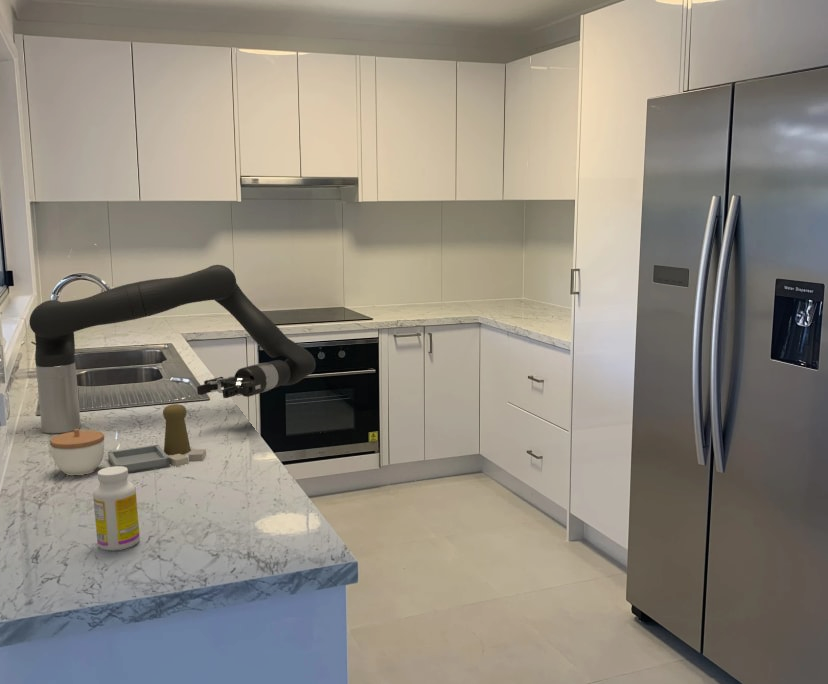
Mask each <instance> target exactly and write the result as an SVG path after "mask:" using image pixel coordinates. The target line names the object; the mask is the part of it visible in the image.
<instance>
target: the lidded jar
mask: <svg viewBox="0 0 828 684" xmlns="http://www.w3.org/2000/svg"><path fill="white" fill-rule="evenodd" d="M49 444H50V451H51V455H52V459H53V462H54V464H55V465H56V467H57V468H58V469H59V470H60V471H62V472H63V473H64V475H65V474H68V475H82V476H85V475H84V474H87V475H89V473H90V474H92V473H94V472H95V471H96V470H97V468H98V466H99V465H100V464H101V463H102V461H103V458H104V453H105V434H104V433H103V432H102V431H98V430H89V429H88V430H80V428H79V429H74V431H70V432H64V433H59V434H57V435H55V436H53V437H51V439H50V440H49ZM68 475H67V476H68Z"/></svg>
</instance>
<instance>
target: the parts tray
mask: <svg viewBox="0 0 828 684" xmlns="http://www.w3.org/2000/svg"><path fill="white" fill-rule="evenodd" d="M168 456H169V455H167V454H166V453H165V452H164V449H163V448H162V447H161V446H160V445H159V444H154V445H153V444H152V445H145V446H140V447H139V446H138V447H133V448H125V449H120V450H113V451H112V450H111V451H108V452H107V458H108V462H109V464H110V467H115V466H122V467H126V468H127V469H128V475H130V474H134V473H140V472H146V471H151V470H152V471H154V470H160V469H165V468H169V467H170V468H171V465H170V458H169V457H168Z"/></svg>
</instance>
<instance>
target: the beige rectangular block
mask: <svg viewBox="0 0 828 684" xmlns="http://www.w3.org/2000/svg"><path fill="white" fill-rule="evenodd" d="M205 456H206V457H207V449H204V448H201V449H199V448H196V449H192V450H191V451H190V452H188V462H203V461H204V459H205V458H206V457H205Z"/></svg>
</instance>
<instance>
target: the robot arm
mask: <svg viewBox="0 0 828 684" xmlns="http://www.w3.org/2000/svg"><path fill="white" fill-rule="evenodd" d="M209 301H214V302H216V303H218V304H219V305H220V306H221V307H223V308H224V309H225V310H226V311H227V312H228V313H229V314H230V315H231V316H233V318H234V319H236V321H237V322H238V323H239V324H240V326H241V327H242V328H243V329H244V330H245V331H246V332H247V333H248V335H249V337H251V338H252V339H253V341H254V342H255V343H256V344H257V345H258V346H259V347H260V348H261V349H262V350H263V351H264V352H265V353H266V354H267V355H268V356H269V357H270V358H272V359H273V358H274V359H275V358H278V357H284V358H286V359H285V360H282V359H275V360H271V361H268V362H261V363H260V362H259V363H256V364H252V365H248V366H245V367H241V368H238V370H236V372H235V373H234V376H233V375H232V376H228V377H223V376H219V377H215V378H210V379H207V380H203V383H204V384H201V385H200V384H199V385H197V387H196V390H197V391H196V392H197V395H198V396H199V395H200V396H203V395H206V394H209V393H216V392H217V393H218V394H222V398H223V399H229V398H232V397H235V396H237V397H240V396H243V397H247V398H249V397H252V396H256V395H259V394H262V393H265V392H268V391H271V390H272V389H275V388H279V387H280V386H291V385H295V384H297V383H299V382H301V381H302V380H303V379H305V378H307V377H308V376H309V375H311V374H312V373H313V372H314V371H315V369H316V366H317V364H316V360H315V357H314V356H313V354H312V353H311V352H310V351H308V350H307V349H306V348H304V347H303V346H301V345H300V344H298V343H296V342H295V341H293V340H291V339H290V338H288V337H287V336H286V334H284V332H283V331H282V330H281V329H280V328H279V327H278V326H277V325H276V324H275V323H274V322H273V321H272V320H271V319H270V318H269V317H268V316H267V315H266V314H264V312H263V311H262V310H260V309H259V308H258V307H257V306H256V305H255V304H254V303H253V302H252V300H250V299H249V298H248V296H247V295H246V294H245V293H244V292H243V291H242V289H241V287H240V286H239V285H238V283H237V278H236V276H235V274H234V272H233V271H232V269H230V268H229V267H227V266H225V265H223V264H213V265H210V266H208V267H206V268H203V269H200V270H197V271H193V272H191V273H188V274H184V275H180V276H175V277H166V278H165V277H164V278H162V277H161V278H155V279H147V280H142V281H136V282H132V283H127V284H123V285H119V286H116V287H113V288H110V289H107V290H104V291H101V292H100V293H99V292H98V293H96V294H94V295H92V296H88V297H85V298H80V299H75V300H69V301H59V300H55V299H54V300H46V301H43V302H41V303H39V304H38V305H37V306H36V307H35V308H34V309H33V310H32V312H31V314H30V316H29V320H28V321H29V327H30V329H31V331H32V333H34V337H35V338H34V339H35V352H34V353H35V354H34V359H35V370H36V378H37V389H38V390H37V391H38V393H37V394H38V401H39V411H40V424H41V431H42V432H43V433H45V434H63V433H68V432H74V429H79V430H80V428H81V416H80V415H81V414H80V404H79V403H80V402H79V391H78V379H77V366H76V356H75V355H76V354H75V353H76V344H75V343H76V342H75V332H79V331H81V330H82V331H83V330H85V329H88V328H93V327H96V326H103V325H111V324H118V323H124V322H128V321H133V320H134V321H135V320H139V319H141V318H147V317H151V316H154V315H157V314H161V313H164V312H168V311H171V310H173V309H175V308H178V307H181V306H185V305H188V304H194V303H199V302H209ZM222 388H223V389H222Z"/></svg>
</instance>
